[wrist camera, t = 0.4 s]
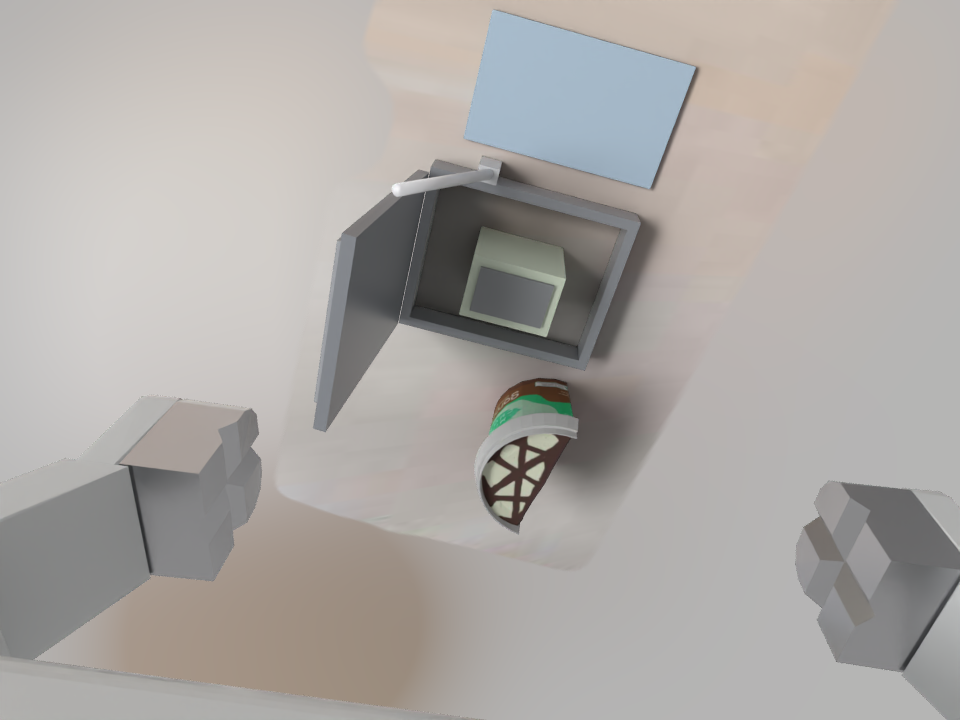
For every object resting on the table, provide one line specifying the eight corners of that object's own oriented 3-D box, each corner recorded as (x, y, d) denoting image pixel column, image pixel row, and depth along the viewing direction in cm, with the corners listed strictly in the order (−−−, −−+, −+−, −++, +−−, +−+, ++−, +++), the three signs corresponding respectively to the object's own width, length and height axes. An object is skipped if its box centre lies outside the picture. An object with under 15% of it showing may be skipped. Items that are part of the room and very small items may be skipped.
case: (425, 140, 51) (392, 181, 39) (642, 199, 52) (671, 256, 40) (391, 307, 58) (355, 383, 47) (583, 357, 59) (593, 443, 47)
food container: (512, 345, 59) (507, 404, 50) (573, 370, 60) (580, 433, 51) (462, 445, 65) (450, 514, 56) (519, 467, 66) (516, 538, 57)
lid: (428, 172, 49) (411, 167, 49) (356, 237, 34) (331, 229, 34) (397, 323, 55) (382, 318, 55) (325, 432, 41) (303, 425, 41)
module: (481, 226, 54) (473, 256, 48) (562, 247, 54) (566, 280, 48) (467, 280, 56) (458, 316, 50) (545, 301, 57) (546, 338, 50)
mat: (493, 9, 46) (492, 9, 46) (694, 66, 47) (695, 67, 47) (464, 137, 51) (463, 138, 50) (649, 187, 51) (649, 189, 51)
